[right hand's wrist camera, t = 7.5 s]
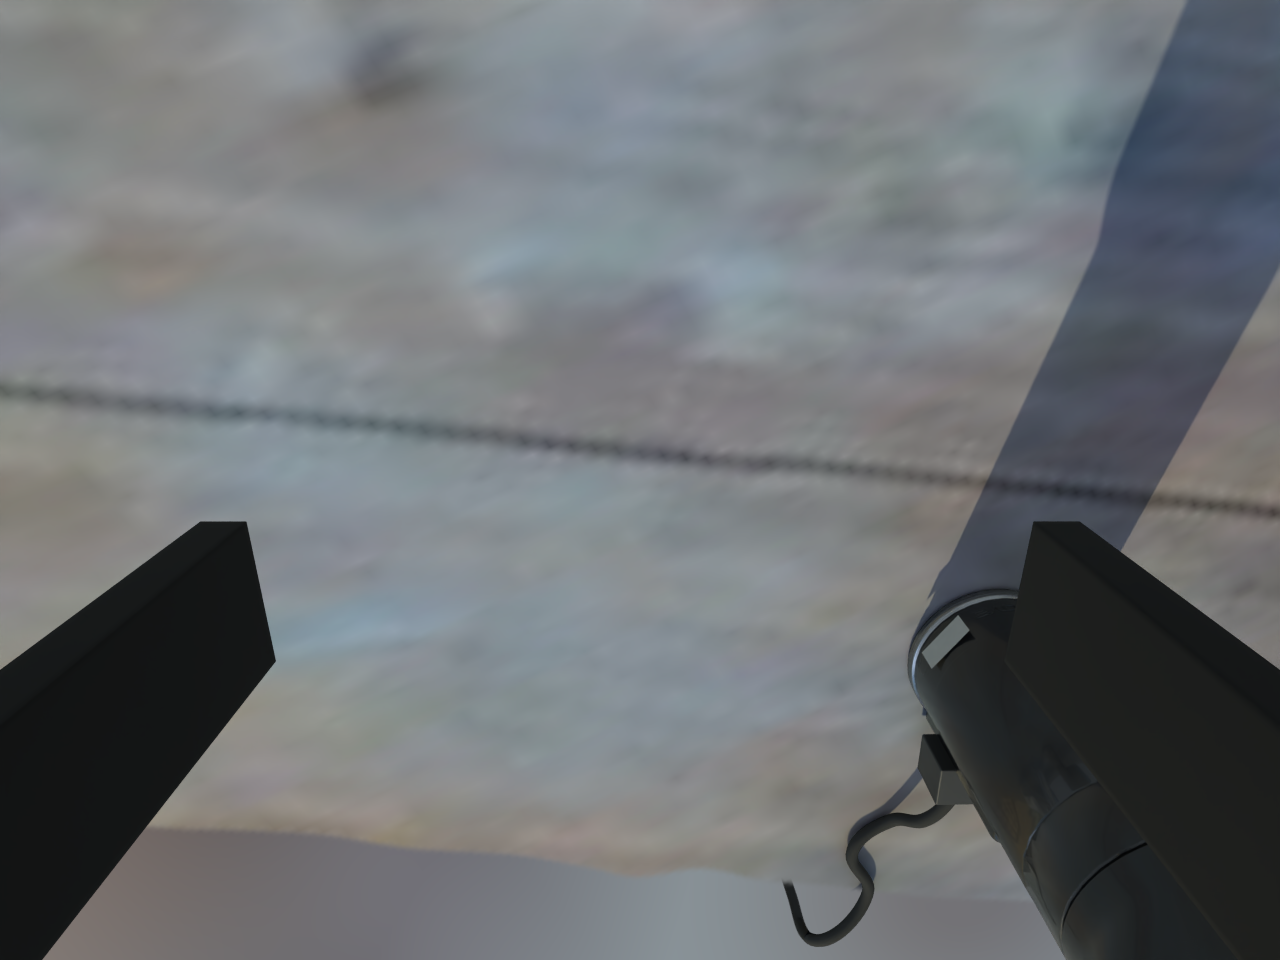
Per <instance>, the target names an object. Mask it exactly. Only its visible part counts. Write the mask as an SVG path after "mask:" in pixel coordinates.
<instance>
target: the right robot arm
mask: <svg viewBox="0 0 1280 960" xmlns="http://www.w3.org/2000/svg"><path fill="white" fill-rule="evenodd" d="M275 662H276V660H275V655H274V650H273V645H272V641H271V636H270V631H269V626H268V622H267V617H266V612H265V607H264V603H263V598H262V593H261V588H260V584H259V579H258V574H257V570H256V565H255V560H254V555H253V551H252V546H251V541H250V536H249V532H248V527H247V522H199V523H198V524H197V525H195V526H194V527H192V528H191V529H190V530H188V531H187V532H186V533H184V534H183V535H182V536H180V537H179V538H178V539H176V540H175V541H174V542H172V543H171V544H170V545H168V546H167V547H165V548H164V549H163V550H161V551H160V552H159V553H157V554H156V555H155V556H153V557H152V558H151V559H149V560H148V561H147V562H145V563H144V564H143V565H141V566H140V567H138V568H137V569H136V570H134V571H133V572H132V573H130V574H129V575H128V576H126V577H125V578H124V579H122V580H121V581H120V582H118V583H117V584H116V585H114V586H113V587H111V588H110V589H109V590H107V591H106V592H105V593H103V594H102V595H101V596H99V597H98V598H97V599H95V600H94V601H93V602H91V603H90V604H89V605H87V606H86V607H84V608H83V609H82V610H80V611H79V612H78V613H76V614H75V615H74V616H72V617H71V618H70V619H68V620H67V621H66V622H64V623H63V624H62V625H60V626H59V627H57V628H56V629H55V630H53V631H52V632H51V633H49V634H48V635H47V636H45V637H44V638H43V639H41V640H40V641H39V642H37V643H36V644H35V645H33V646H32V647H30V648H29V649H28V650H26V651H25V652H24V653H22V654H21V655H20V656H18V657H17V658H16V659H14V660H13V661H12V662H10V663H9V664H8V665H6V666H5V667H3V668H2V669H1V670H0V960H42V959H43V958H44V957H45V955H46V954H47V953H48V952H49V950H50V949H51V948H52V947H53V945H54V944H55V943H56V941H57V940H58V939H59V938H60V936H61V935H62V934H63V932H64V931H65V930H66V929H67V927H68V926H69V925H70V924H71V922H72V921H73V920H74V918H75V917H76V916H77V915H78V913H79V912H80V911H81V909H82V908H83V907H84V906H85V904H86V903H87V902H88V901H89V899H90V898H91V897H92V895H93V894H94V893H95V892H96V890H97V889H98V888H99V886H100V885H101V884H102V883H103V881H104V880H105V879H106V878H107V876H108V875H109V874H110V872H111V871H112V870H113V869H114V867H115V866H116V865H117V863H118V862H119V861H120V860H121V858H122V857H123V856H124V854H125V853H126V852H127V851H128V849H129V848H130V847H131V846H132V844H133V843H134V842H135V840H136V839H137V838H138V837H139V835H140V834H141V833H142V832H143V830H144V829H145V828H146V826H147V825H148V824H149V823H150V821H151V820H152V819H153V817H154V816H155V815H156V814H157V812H158V811H159V810H160V809H161V807H162V806H163V805H164V803H165V802H166V801H167V800H168V798H169V797H170V796H171V795H172V793H173V792H174V791H175V789H176V788H177V787H178V786H179V784H180V783H181V782H182V780H183V779H184V778H185V777H186V775H187V774H188V773H189V772H190V770H191V769H192V768H193V766H194V765H195V764H196V763H197V761H198V760H199V759H200V757H201V756H202V755H203V754H204V752H205V751H206V750H207V749H208V747H209V746H210V745H211V743H212V742H213V741H214V740H215V738H216V737H217V736H218V734H219V733H220V732H221V731H222V729H223V728H224V727H225V726H226V724H227V723H228V722H229V720H230V719H231V718H232V717H233V715H234V714H235V713H236V711H237V710H238V709H239V708H240V706H241V705H242V704H243V703H244V701H245V700H246V699H247V697H248V696H249V695H250V694H251V692H252V691H253V690H254V688H255V687H256V686H257V685H258V683H259V682H260V681H261V680H262V678H263V677H264V676H265V674H266V673H267V672H268V671H269V669H270V668H271V667H272V665H273V664H274V663H275ZM1004 662H1005V663H1006V664H1007V665H1008V667H1009V668H1010V669H1011V671H1012V672H1013V673H1014V674H1015V676H1016V677H1017V678H1018V680H1019V681H1020V682H1021V683H1022V685H1023V686H1024V687H1025V688H1026V690H1027V691H1028V692H1029V694H1030V695H1031V696H1032V697H1033V699H1034V700H1035V701H1036V703H1037V704H1038V705H1039V706H1040V708H1041V709H1042V710H1043V711H1044V713H1045V714H1046V715H1047V717H1048V718H1049V719H1050V720H1051V722H1052V723H1053V724H1054V726H1055V727H1056V728H1057V729H1058V731H1059V732H1060V733H1061V734H1062V736H1063V737H1064V738H1065V740H1066V741H1067V742H1068V743H1069V745H1070V746H1071V747H1072V749H1073V750H1074V751H1075V752H1076V754H1077V755H1078V756H1079V757H1080V759H1081V760H1082V761H1083V763H1084V764H1085V765H1086V766H1087V768H1088V769H1089V770H1090V772H1091V773H1092V774H1093V775H1094V777H1095V778H1096V779H1097V780H1098V782H1099V783H1100V784H1101V786H1102V787H1103V788H1104V789H1105V791H1106V792H1107V793H1108V795H1109V796H1110V797H1111V798H1112V800H1113V801H1114V802H1115V803H1116V805H1117V806H1118V807H1119V809H1120V810H1121V811H1122V812H1123V814H1124V815H1125V816H1126V817H1127V819H1128V820H1129V821H1130V823H1131V824H1132V825H1133V826H1134V828H1135V829H1136V830H1137V832H1138V833H1139V834H1140V835H1141V837H1142V838H1143V839H1144V840H1145V842H1146V843H1147V844H1148V846H1149V847H1150V848H1151V849H1152V851H1153V852H1154V853H1155V855H1156V856H1157V857H1158V858H1159V860H1160V861H1161V862H1162V863H1163V865H1164V866H1165V867H1166V869H1167V870H1168V871H1169V872H1170V874H1171V875H1172V876H1173V878H1174V879H1175V880H1176V881H1177V883H1178V884H1179V885H1180V886H1181V888H1182V889H1183V890H1184V892H1185V893H1186V894H1187V895H1188V897H1189V898H1190V899H1191V901H1192V902H1193V903H1194V904H1195V906H1196V907H1197V908H1198V909H1199V911H1200V912H1201V913H1202V915H1203V916H1204V917H1205V918H1206V920H1207V921H1208V922H1209V924H1210V925H1211V926H1212V927H1213V929H1214V930H1215V931H1216V932H1217V934H1218V935H1219V936H1220V938H1221V939H1222V940H1223V941H1224V943H1225V944H1226V945H1227V947H1228V948H1229V949H1230V950H1231V952H1232V953H1233V954H1234V955H1235V957H1236V958H1237V959H1238V960H1280V670H1279V669H1278V668H1277V667H1275V666H1274V665H1272V664H1271V663H1270V662H1268V661H1267V660H1266V659H1264V658H1263V657H1262V656H1260V655H1259V654H1258V653H1256V652H1255V651H1254V650H1252V649H1251V648H1250V647H1248V646H1247V645H1245V644H1244V643H1243V642H1241V641H1240V640H1239V639H1237V638H1236V637H1235V636H1233V635H1232V634H1231V633H1229V632H1228V631H1227V630H1225V629H1224V628H1223V627H1221V626H1220V625H1218V624H1217V623H1216V622H1214V621H1213V620H1212V619H1210V618H1209V617H1208V616H1206V615H1205V614H1204V613H1202V612H1201V611H1200V610H1198V609H1197V608H1196V607H1194V606H1193V605H1191V604H1190V603H1189V602H1187V601H1186V600H1185V599H1183V598H1182V597H1181V596H1179V595H1178V594H1177V593H1175V592H1174V591H1173V590H1171V589H1170V588H1169V587H1167V586H1166V585H1164V584H1163V583H1162V582H1160V581H1159V580H1158V579H1156V578H1155V577H1154V576H1152V575H1151V574H1150V573H1148V572H1147V571H1146V570H1144V569H1143V568H1142V567H1140V566H1139V565H1137V564H1136V563H1135V562H1133V561H1132V560H1131V559H1129V558H1128V557H1127V556H1125V555H1124V554H1123V553H1121V552H1120V551H1119V550H1117V549H1116V548H1115V547H1113V546H1112V545H1110V544H1109V543H1108V542H1106V541H1105V540H1104V539H1102V538H1101V537H1100V536H1098V535H1097V534H1096V533H1094V532H1093V531H1092V530H1090V529H1089V528H1088V527H1086V526H1085V525H1083V524H1082V523H1081V522H1033V527H1032V532H1031V536H1030V541H1029V546H1028V551H1027V555H1026V560H1025V565H1024V570H1023V574H1022V579H1021V584H1020V588H1019V593H1018V598H1017V603H1016V607H1015V612H1014V617H1013V622H1012V626H1011V631H1010V636H1009V641H1008V645H1007V650H1006V655H1005V660H1004Z"/></svg>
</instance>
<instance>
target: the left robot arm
mask: <svg viewBox="0 0 1280 960" xmlns="http://www.w3.org/2000/svg"><path fill="white" fill-rule="evenodd" d="M1018 593H1019V591H1015V590H1007V589H995V590H986V591H980V592H976V593H972V594H969V595H966V596H964V597H961V598H959V599H957V600H955V601H953V602H951V603H949V604H948V605H946V606H944V607H943V608H942V609H940V610H939V611H938V612H936V613H935V614H934V615H933V616H932V617H931V618H930V619H929V620H928V621H927V622H926V623H925V624H924V626H923V627H922V628H921V630H920V631H919V632H918V634H917V636H916V638H915V639H914V642H913V644H912V646H911V649H910V653H909V658H908V675H909V680H910V683H911V686H912V688H913V690H914V692H915V694H916V696H917V697H918V699H919V701H920V703H921V704H922V705H923V707H924V708H925V709H926V710H927V714H926V719H927V721H928V722H929V724H930V726H931V728H932V730H933V732H934V733H935V734H923V735H922V741H921V748H920V755H919V762H918V769H919V771H920V773H921V775H922V777H923V779H924V781H925V783H926V786H927V788H928V790H929V792H930V794H931V796H932V798H933V800H934V802H935V804H936V805H935V806H933V807H932V808H931V809H929V810H928V811H926V812H924V813H921V814H918V815H910V814H905V813H891V814H888V815H886V816H883V817H881V818H879V819H877V820H875V821H873V822H871V823H869V824H867V825H866V826H864V827H863V828H862V829H860V830H859V831H858V832H857V833H856V834H855V835H854V837H853V838H852V839H851V841H850V842H849V845H848V847H847V851H846V861H847V864H848V865H849V867H850V869H851V871H852V872H853V873H854V875H855V876H856V877H857V878H858V879H859V881H860V882H861V883H862V887H863V889H862V892H861V895H860V897H859V899H858V901H857V903H856V905H855V906H854V908H853V909H852V910H851V912H850V913H849V914H848V915H847V917H846V918H845V919H844V920H843V921H842V922H840V923H839V924H838V925H837V926H836V927H834V928H833V929H831V930H829V931H827V932H825V933H822V934H813V933H811V932H810V931H809V930H808V928H807V927H806V924H805V922H804V919H803V915H802V912H801V908H800V904H799V900H798V897H797V894H796V891H795V888H794V885H793V883H791V882H782V883H783V886H784V889H785V891H786V895H787V898H788V901H789V905H790V909H791V913H792V917H793V921H794V924H795V927H796V930H797V932H798V934H799V936H800V937H801V938H802V939H803V940H804V941H805V942H806V943H807V944H809V945H811V946H815V947H823V946H828V945H831V944H833V943H835V942H837V941H839V940H840V939H842V938H843V937H844V936H846V935H847V934H848V933H849V932H850V931H851V930H852V929H853V928H854V927H855V926H856V925H857V924H858V922H859V921H860V920H861V919H862V917H863V916H864V914H865V912H866V911H867V909H868V907H869V905H870V903H871V900H872V898H873V894H874V884H873V881H872V879H871V877H870V875H869V874H868V873H867V871H866V870H865V869H864V868H863V866H862V865H861V864H860V862H859V861H858V853H859V851H860V849H861V848H862V846H863V845H864V844H865V843H866V842H867V841H868V840H870V839H871V838H872V837H874V836H875V835H877V834H879V833H881V832H883V831H885V830H887V829H889V828H892V827H895V826H907V827H912V828H924V827H927V826H930V825H932V824H934V823H936V822H937V821H939V820H940V819H941V818H943V817H944V816H945V815H946V814H947V813H948V812H949V811H950V810H951V809H952V807H953V806H954V805H955V804H973V805H974V806H975V808H976V810H977V812H978V814H979V816H980V817H981V819H982V821H983V823H984V825H985V826H986V828H987V830H988V832H989V834H990V835H991V837H992V838H993V839H994V840H996V841H997V842H999V843H1001V845H1002V846H1003V848H1004V850H1005V852H1006V854H1007V855H1008V857H1009V859H1010V861H1011V863H1012V864H1013V866H1014V868H1015V870H1016V871H1017V873H1018V875H1019V877H1020V879H1021V880H1022V882H1023V884H1024V886H1025V888H1026V889H1027V891H1028V893H1029V895H1030V896H1031V898H1032V900H1033V901H1034V903H1035V905H1036V907H1037V908H1038V910H1039V912H1040V914H1041V916H1042V917H1043V919H1044V921H1045V923H1046V925H1047V926H1048V928H1049V930H1050V932H1051V934H1052V935H1053V937H1054V939H1055V941H1056V943H1057V944H1058V946H1059V948H1060V950H1061V951H1062V953H1063V955H1064V957H1065V959H1066V960H1238V959H1237V958H1236V957H1235V955H1234V954H1233V953H1232V952H1231V950H1230V949H1229V948H1228V947H1227V945H1226V944H1225V943H1224V941H1223V940H1222V939H1221V938H1220V936H1219V935H1218V934H1217V932H1216V931H1215V930H1214V929H1213V927H1212V926H1211V925H1210V924H1209V922H1208V921H1207V920H1206V918H1205V917H1204V916H1203V915H1202V913H1201V912H1200V911H1199V909H1198V908H1197V907H1196V906H1195V904H1194V903H1193V902H1192V901H1191V899H1190V898H1189V897H1188V895H1187V894H1186V893H1185V892H1184V890H1183V889H1182V888H1181V886H1180V885H1179V884H1178V883H1177V881H1176V880H1175V879H1174V878H1173V876H1172V875H1171V874H1170V872H1169V871H1168V870H1167V869H1166V867H1165V866H1164V865H1163V863H1162V862H1161V861H1160V860H1159V858H1158V857H1157V856H1156V855H1155V853H1154V852H1153V851H1152V849H1151V848H1150V847H1149V846H1148V844H1147V843H1146V842H1145V840H1144V839H1143V838H1142V837H1141V835H1140V834H1139V833H1138V832H1137V830H1136V829H1135V828H1134V826H1133V825H1132V824H1131V823H1130V821H1129V820H1128V819H1127V817H1126V816H1125V815H1124V814H1123V812H1122V811H1121V810H1120V809H1119V807H1118V806H1117V805H1116V803H1115V802H1114V801H1113V800H1112V798H1111V797H1110V796H1109V795H1108V793H1107V792H1106V791H1105V789H1104V788H1103V787H1102V786H1101V784H1100V783H1099V782H1098V780H1097V779H1096V778H1095V777H1094V775H1093V774H1092V773H1091V772H1090V770H1089V769H1088V768H1087V766H1086V765H1085V764H1084V763H1083V761H1082V760H1081V759H1080V757H1079V756H1078V755H1077V754H1076V752H1075V751H1074V750H1073V749H1072V747H1071V746H1070V745H1069V743H1068V742H1067V741H1066V740H1065V738H1064V737H1063V736H1062V734H1061V733H1060V732H1059V731H1058V729H1057V728H1056V727H1055V726H1054V724H1053V723H1052V722H1051V720H1050V719H1049V718H1048V717H1047V715H1046V714H1045V713H1044V711H1043V710H1042V709H1041V708H1040V706H1039V705H1038V704H1037V703H1036V701H1035V700H1034V699H1033V697H1032V696H1031V695H1030V694H1029V692H1028V691H1027V690H1026V688H1025V687H1024V686H1023V685H1022V683H1021V682H1020V681H1019V680H1018V678H1017V677H1016V676H1015V674H1014V673H1013V672H1012V671H1011V669H1010V668H1009V667H1008V665H1007V664H1006V663H1005V662H1004V660H1005V655H1006V650H1007V645H1008V641H1009V636H1010V631H1011V626H1012V622H1013V617H1014V612H1015V607H1016V603H1017V598H1018Z"/></svg>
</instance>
